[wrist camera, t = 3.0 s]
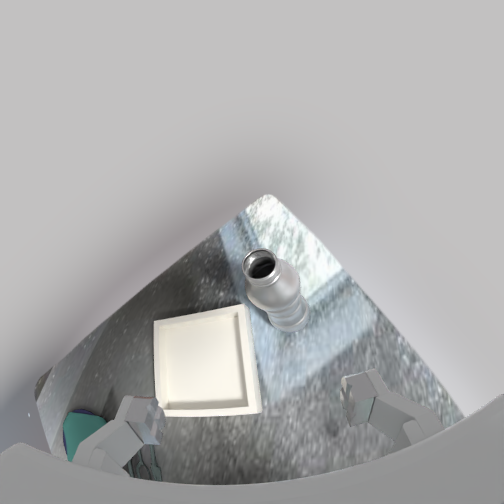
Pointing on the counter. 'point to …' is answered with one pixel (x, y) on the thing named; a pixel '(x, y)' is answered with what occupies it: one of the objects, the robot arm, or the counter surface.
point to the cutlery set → (85, 425)
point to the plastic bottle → (275, 290)
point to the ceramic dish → (206, 364)
